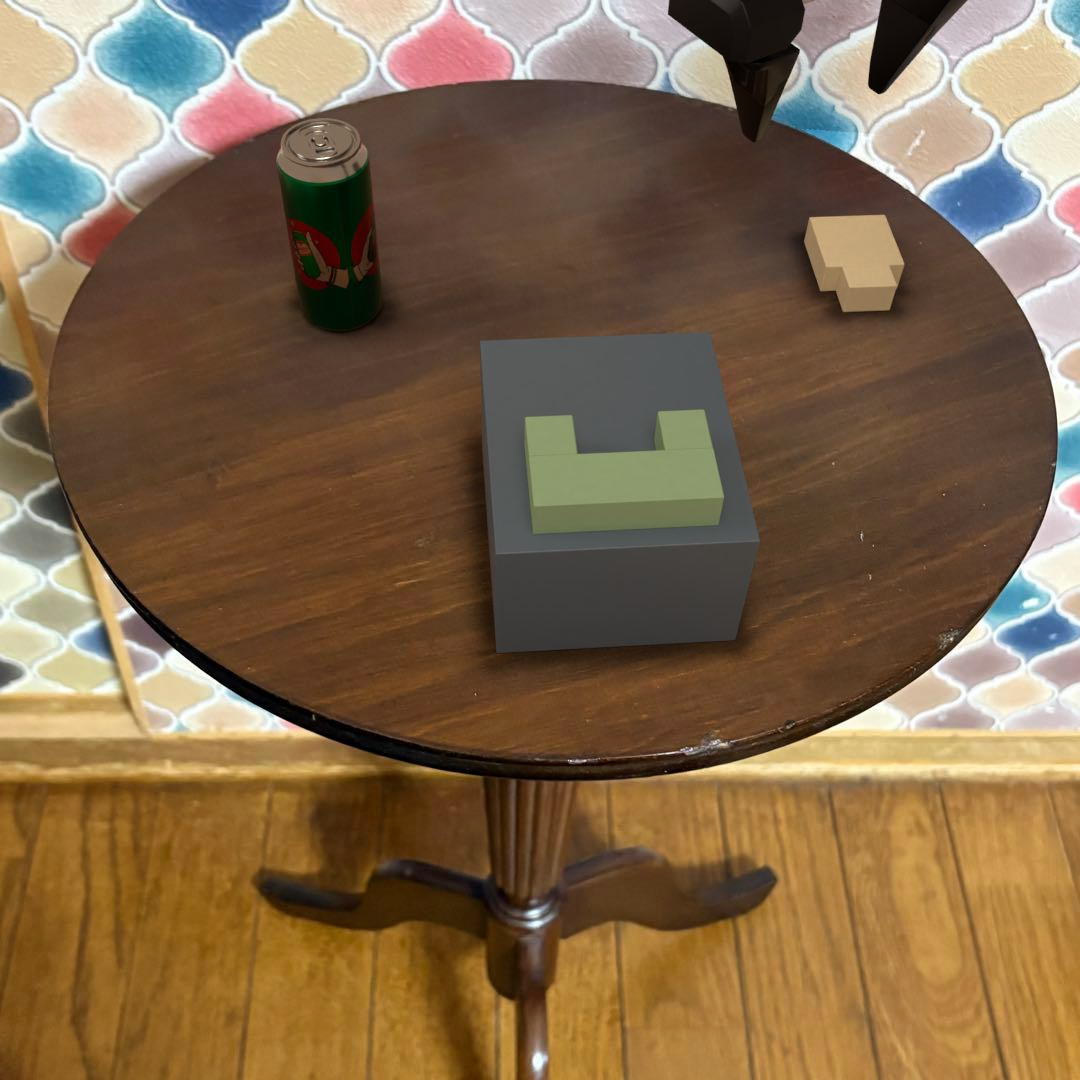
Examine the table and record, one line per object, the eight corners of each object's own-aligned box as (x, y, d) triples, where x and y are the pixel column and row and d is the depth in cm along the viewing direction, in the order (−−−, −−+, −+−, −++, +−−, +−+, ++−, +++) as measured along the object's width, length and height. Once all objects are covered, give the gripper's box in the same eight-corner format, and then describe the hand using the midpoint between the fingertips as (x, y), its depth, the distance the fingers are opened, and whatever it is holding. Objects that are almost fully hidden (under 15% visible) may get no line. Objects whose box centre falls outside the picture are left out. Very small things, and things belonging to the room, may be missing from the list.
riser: (692, 436, 73) (710, 331, 67) (735, 640, 64) (760, 540, 58) (481, 446, 72) (479, 339, 66) (496, 653, 63) (495, 554, 57)
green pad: (699, 437, 62) (704, 408, 60) (718, 525, 58) (724, 497, 57) (524, 445, 61) (524, 416, 60) (532, 534, 58) (533, 506, 56)
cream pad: (878, 239, 84) (885, 214, 83) (905, 310, 80) (913, 285, 79) (803, 241, 84) (809, 216, 83) (827, 313, 80) (833, 288, 78)
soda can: (368, 274, 81) (350, 105, 72) (394, 324, 78) (380, 155, 69) (290, 294, 80) (262, 124, 70) (314, 345, 77) (288, 176, 68)
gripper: (906, -275, 68) (845, 6, 80) (615, -202, 61) (597, 92, 73) (1064, -198, 62) (973, 92, 74) (763, -108, 55) (716, 194, 67)
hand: (814, 113), depth 72 cm, fingers open, 9 cm apart
